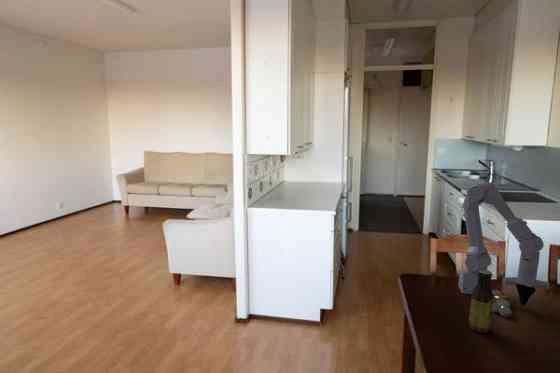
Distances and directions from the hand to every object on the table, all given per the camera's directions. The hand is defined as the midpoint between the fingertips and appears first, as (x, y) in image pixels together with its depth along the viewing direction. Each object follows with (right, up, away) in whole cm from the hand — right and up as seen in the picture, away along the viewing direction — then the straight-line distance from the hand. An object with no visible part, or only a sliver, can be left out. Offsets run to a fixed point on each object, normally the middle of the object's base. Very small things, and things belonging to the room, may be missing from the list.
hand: (522, 303), depth 140 cm
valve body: (-9, -1, +1) cm, 10 cm away
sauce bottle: (-23, -4, -13) cm, 27 cm away
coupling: (-7, -1, +2) cm, 7 cm away
